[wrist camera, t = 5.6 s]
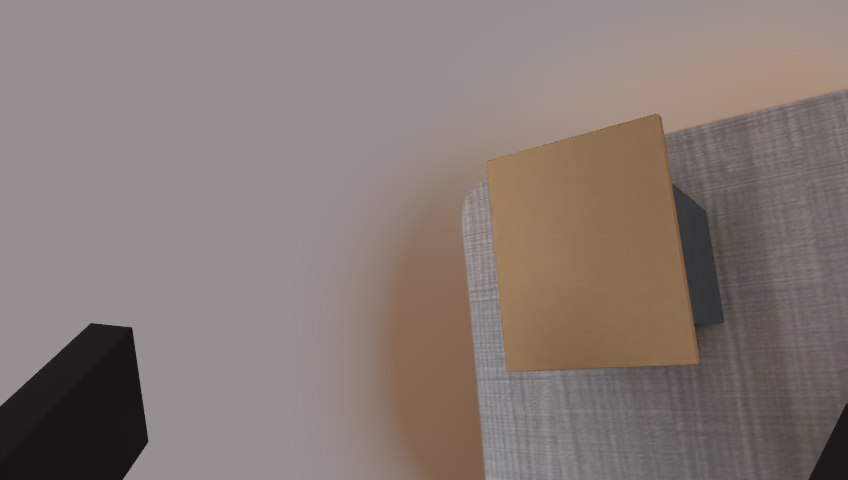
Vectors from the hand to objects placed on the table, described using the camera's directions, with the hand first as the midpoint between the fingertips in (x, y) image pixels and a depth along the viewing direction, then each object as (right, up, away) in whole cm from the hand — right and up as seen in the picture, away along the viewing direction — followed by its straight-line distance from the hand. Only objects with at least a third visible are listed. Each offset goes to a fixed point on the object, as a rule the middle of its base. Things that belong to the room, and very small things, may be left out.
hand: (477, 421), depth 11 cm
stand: (+15, +1, +26) cm, 30 cm away
